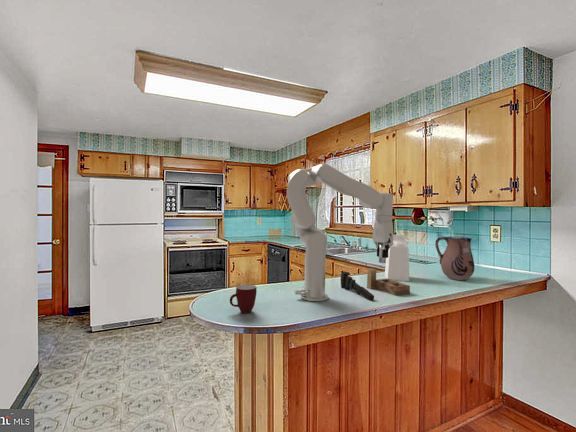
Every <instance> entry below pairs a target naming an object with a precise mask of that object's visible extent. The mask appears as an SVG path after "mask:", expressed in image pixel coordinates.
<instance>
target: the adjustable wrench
mask: <svg viewBox="0 0 576 432" xmlns="http://www.w3.org/2000/svg"><path fill="white" fill-rule="evenodd" d="M340 288H341V289H344V290H354V291H355V293H356V294H358V295H362V296H363V297H364V298H365V299H366V300H367V301H371V302H372V301H374V300H375V299H374V298H375V294H372V293H371V292H370V291H369V290H368V289H366V288H365V287H363V286H361V285H360V284H359V283H357V282H356V279H353V277H352V276H351V275H350V276H349V272H348V271H346V270H345V271H341V273H340Z"/></svg>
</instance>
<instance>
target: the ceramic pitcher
mask: <svg viewBox="0 0 576 432" xmlns="http://www.w3.org/2000/svg"><path fill="white" fill-rule="evenodd" d="M441 240H444V241H445V242H446V244H447V245H446V247H445V250H444V252H443V253H442V252H441V251H440V247H439V242H440V241H441ZM471 242H472V238H471V237H464V236H439V237H437V238H436V240H435V249H436V252H437V255H438V256H439V264H440V268H441V271H442V273H443V274H444V276H446V277H447V278H449V279H450V280H455V281H465V280H468V279H469V278H471V277H472V276H473V274H474V273H475V261H474V256H473V253H472V248H471Z"/></svg>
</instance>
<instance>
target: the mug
mask: <svg viewBox="0 0 576 432" xmlns="http://www.w3.org/2000/svg"><path fill="white" fill-rule="evenodd" d="M257 292H258V291H257V286H256V285H254V284H240V285H239V284H238V285H237V286H236V288H235V293H234V294H231V296H230V298H229V304H230V305H231V306H232V307H233V308H234V307H236V308H237V307H238V309H239V311H240V312H241V313H242V314H251V312H252V311H253V309H254V307H255V303H256V297H257ZM234 298H236V303H237V304H234V303H233V300H234Z"/></svg>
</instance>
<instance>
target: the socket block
mask: <svg viewBox="0 0 576 432" xmlns="http://www.w3.org/2000/svg"><path fill="white" fill-rule="evenodd" d="M376 289H377V290H380V291H383V292H385V293H388V294H390V295H393V296H401V295H402V296H403V295H410V292H411V285H409V284H406V283H402V282H400V281H398V280H391V279H387V278H382V279H376Z"/></svg>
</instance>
